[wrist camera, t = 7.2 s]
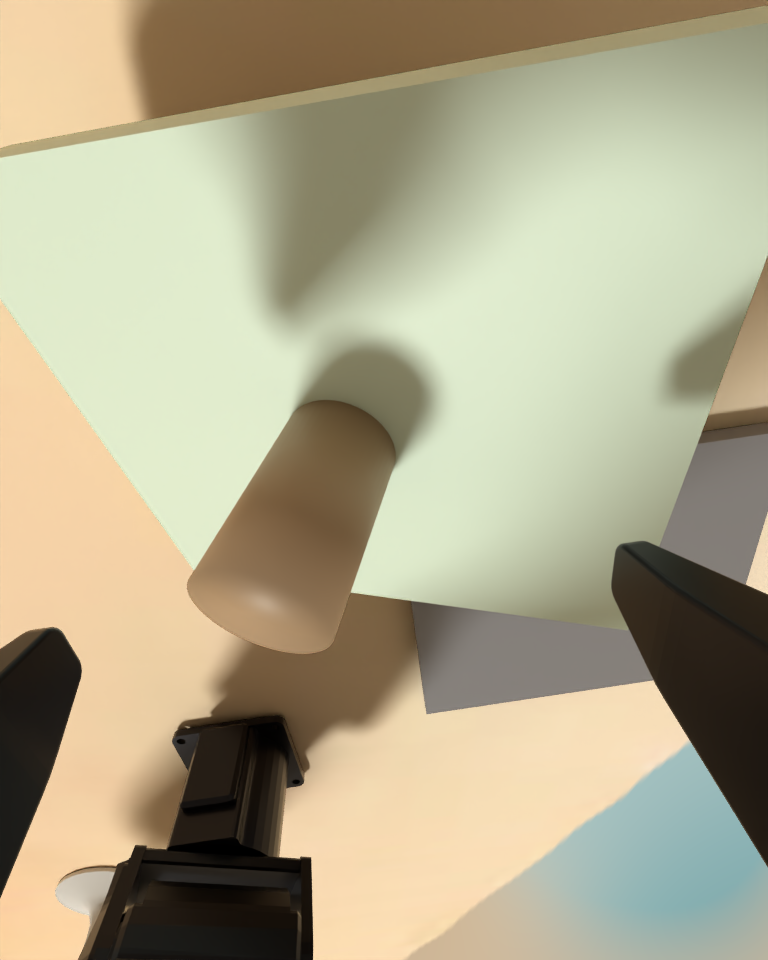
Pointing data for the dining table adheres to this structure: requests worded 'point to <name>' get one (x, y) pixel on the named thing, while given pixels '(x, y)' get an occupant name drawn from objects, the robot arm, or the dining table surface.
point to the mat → (585, 648)
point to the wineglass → (85, 891)
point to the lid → (408, 318)
